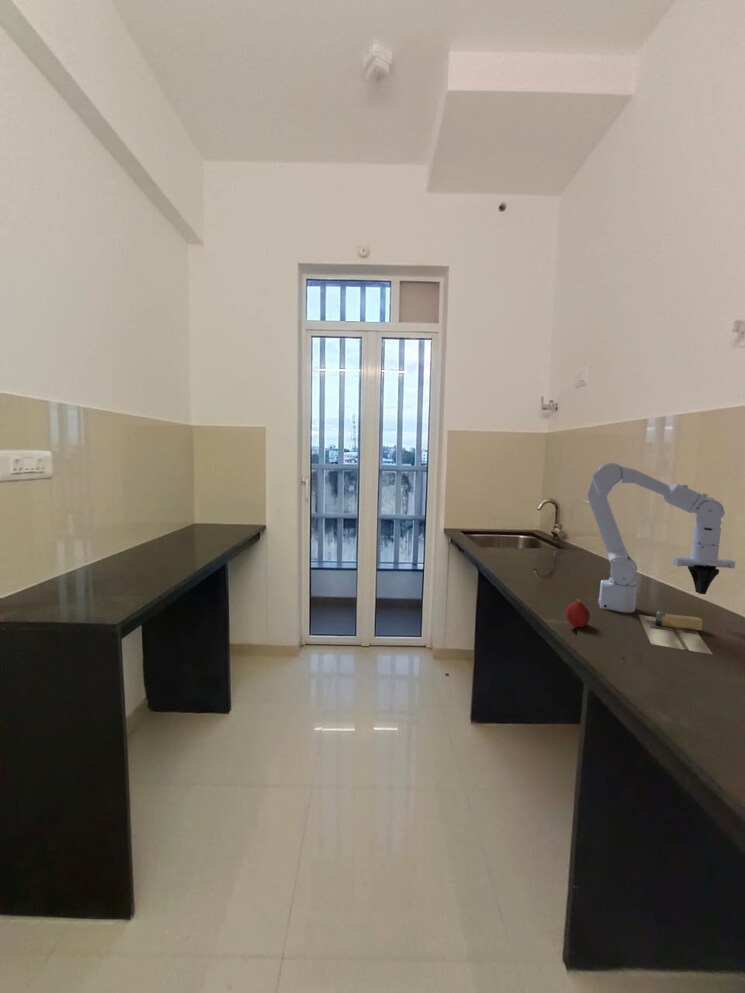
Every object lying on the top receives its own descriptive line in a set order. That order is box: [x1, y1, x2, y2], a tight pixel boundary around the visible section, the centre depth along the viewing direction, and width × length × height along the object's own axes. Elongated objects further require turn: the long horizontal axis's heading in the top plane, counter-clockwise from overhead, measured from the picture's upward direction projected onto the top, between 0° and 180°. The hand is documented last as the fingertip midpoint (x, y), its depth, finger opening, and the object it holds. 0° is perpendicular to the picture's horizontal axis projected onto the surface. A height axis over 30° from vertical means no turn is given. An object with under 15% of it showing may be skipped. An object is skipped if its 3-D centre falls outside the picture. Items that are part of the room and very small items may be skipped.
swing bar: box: [655, 610, 703, 632], centre depth 113 cm, size 10×2×3 cm, turn 74°
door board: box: [638, 614, 714, 656], centre depth 111 cm, size 12×21×2 cm, turn 156°
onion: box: [565, 599, 591, 629], centre depth 114 cm, size 6×6×8 cm
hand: (700, 592), depth 117 cm, fingers closed
